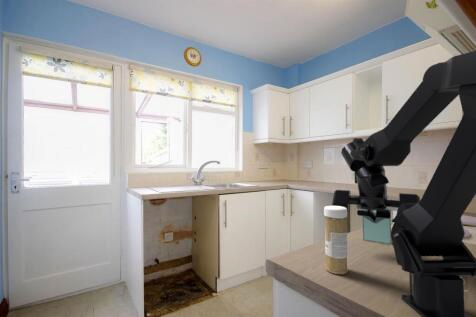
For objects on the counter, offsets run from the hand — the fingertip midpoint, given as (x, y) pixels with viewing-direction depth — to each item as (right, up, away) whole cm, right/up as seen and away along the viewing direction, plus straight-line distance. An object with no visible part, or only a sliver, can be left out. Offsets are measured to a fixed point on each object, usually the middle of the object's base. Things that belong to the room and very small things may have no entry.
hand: (375, 221), depth 63 cm
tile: (+3, -7, +4) cm, 8 cm away
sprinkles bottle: (-16, -7, -14) cm, 23 cm away
